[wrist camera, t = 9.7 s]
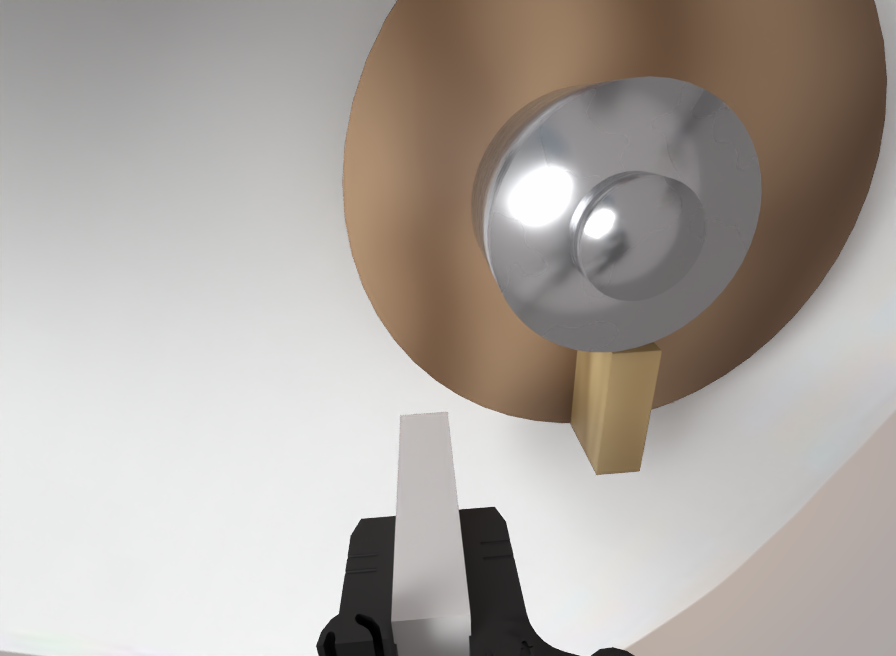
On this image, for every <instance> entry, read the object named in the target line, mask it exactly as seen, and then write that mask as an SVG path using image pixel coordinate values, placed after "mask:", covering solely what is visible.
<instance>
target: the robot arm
mask: <svg viewBox="0 0 896 656" xmlns="http://www.w3.org/2000/svg"><path fill="white" fill-rule="evenodd" d="M316 647H317V651H318V655H319V656H579V655H575V654H571V653H567V652H564V651H561V650H559V649H556V648H553V647H552V646H550V645H549V644H547V643H546V642H544V641H543V640H542V639H541V638H540V637H539V636H538V635H537V634H536V632H535V631H534V629H533V628H532V626H531V624H530V622H529V619H528V616H527V613H526V609H525V604H524V600H523V595H522V591H521V586H520V582H519V578H518V573H517V569H516V564H515V560H514V557H513V551H512V547H511V543H510V538H509V533H508V529H507V525H506V521H505V520H504V519H503V517H502V516H501V515H500V513H499V512H498V511H497V509H496V508H495V507H486V508H474V509H461V510H459V509H458V500H457V491H456V482H455V473H454V465H453V456H452V447H451V438H450V429H449V421H448V412H441V413H427V414H413V415H400V437H399V459H398V481H397V503H396V516H390V517H378V518H365V519H361V520H360V522H359V523H358V525H357V526H356V528H355V530H354V531H353V533H352V535H351V537H350V544H349V551H348V559H347V564H346V574H345V577H344V584H343V591H342V597H341V604H340V611H339V614H338V615H337V616H335V617H334V618H333V619H331V620H330V621H329V623H328V624H327V625H326V626H325V628H324V629H323V630H322V632H321V634H320V637H319V640H318V642H317V645H316ZM591 656H634V655H632V654H631V653H629V652H628V651H625V650H621V649H617V648H613V647H612V648H605V649H600V650H598V651H597V652H595V653H594V654H593V655H591Z"/></svg>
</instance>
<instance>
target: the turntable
mask: <svg viewBox="0 0 896 656" xmlns="http://www.w3.org/2000/svg"><path fill="white" fill-rule="evenodd" d="M649 76H651V77H665V78H672V79H677V80H681V81H685V82H689V83H691V84H694V85H696V86H698V87H701V88H703V89H705V90H707V91H708V92H710V93H712V94H713V95H715V96H716V97H718V98H719V99H721V100H722V101H723V102H724V103H725V104H726V105H727V106H728V107H729V108H730V109H731V110H733V111H734V113H735V114H736V115H737V117H738V118H739V119H740V121H741V122H742V123H743V125H744V126H745V128H746V130H747V132H748V134H749V136H750V138H751V139H752V142H753V145H754V148H755V151H756V153H757V156H758V161H759V167H760V172H761V188H762V194H761V205H760V213H759V218H758V222H757V227H756V230H755V233H754V236H753V239H752V242H751V245H750V247H749V249H748V251H747V254H746V256H745V258H744V260H743V262H742V264H741V265H740V267H739V269H738V270H737V272H736V274H735V275H734V277H733V278H732V280H731V281H730V282H729V284H728V285H727V286H726V288H725V289H724V290H723V292H722V293H721V294H720V295H719V296H718V297H717V298H716V299H715V300H714V301H713V302H712V303H711V305H709V306H708V307H707V308H706V309H705V310H704V311H703V312H702V313H700V314H699V315H698V316H697V317H696V318H694V319H693V320H692V321H690V322H689V323H687V324H686V325H685V326H683V327H682V328H680V329H678V330H676V331H675V332H673V333H671V334H670V335H668V336H666V337H663V338H661V339H659V340H657V341H655V342H652V343H649V344H646V345H643V346H640V347H637V348H632V349H628V350H623V351H614V352H587V351H579V350H574V349H571V348H567V347H563V346H560V345H558V344H556V343H553V342H551V341H548V340H547V339H545V338H543V337H542V336H540V335H538V334H537V333H535V332H534V331H533V330H531V329H530V328H529V327H528V326H527V325H525V324H524V323H523V322H522V321H521V320H520V319H519V317H518V316H517V315H516V314H515V313H514V312H513V310H512V309H511V307H510V306H509V305H508V303H507V302H506V300H505V298H504V296H503V294H502V292H501V290H500V288H499V286H498V284H497V282H496V280H495V278H494V276H493V274H492V272H491V270H490V268H489V266H488V264H487V262H486V260H485V258H484V256H483V254H482V252H481V250H480V248H479V246H478V243H477V240H476V237H475V234H474V229H473V224H472V216H471V199H472V189H473V184H474V179H475V175H476V172H477V169H478V166H479V163H480V161H481V159H482V157H483V155H484V153H485V151H486V149H487V147H488V145H489V144H490V142H491V141H492V139H493V138H494V136H495V135H496V133H497V132H498V131H499V130H500V129H501V127H502V126H503V125H504V124H505V123H506V122H507V121H508V120H509V119H510V118H511V117H512V116H513V115H514V114H515V113H516V112H517V111H519V110H520V109H522V108H523V107H524V106H526V105H527V104H528V103H530V102H532V101H533V100H535V99H537V98H539V97H541V96H543V95H545V94H547V93H550V92H553V91H555V90H558V89H562V88H566V87H570V86H576V85H583V84H591V83H598V82H605V81H613V80H620V79H627V78H637V77H649ZM886 87H887V76H886V64H885V52H884V40H883V36H882V32H881V27H880V23H879V18H878V14H877V10H876V5H875V2H874V0H397V2H396V4H395V5H394V7H393V8H392V10H391V11H390V13H389V14H388V16H387V18H386V19H385V21H384V24H383V26H382V28H381V30H380V32H379V34H378V36H377V38H376V41H375V43H374V45H373V47H372V49H371V51H370V53H369V55H368V57H367V60H366V62H365V66H364V69H363V72H362V75H361V78H360V81H359V84H358V87H357V90H356V93H355V96H354V99H353V103H352V108H351V113H350V119H349V124H348V129H347V135H346V140H345V150H344V166H343V197H344V212H345V222H346V227H347V232H348V237H349V242H350V247H351V252H352V256H353V259H354V262H355V265H356V268H357V271H358V273H359V276H360V279H361V282H362V285H363V288H364V290H365V292H366V294H367V296H368V298H369V300H370V302H371V304H372V306H373V308H374V309H375V311H376V313H377V315H378V317H379V318H380V320H381V321H382V323H383V324H384V326H385V327H386V329H387V330H388V331H389V333H390V334H391V336H392V337H393V339H394V340H395V341H396V342H397V344H398V345H399V346H400V347H401V348H402V349H403V350H404V351H405V352H406V354H407V355H408V356H409V357H410V358H411V359H412V360H413V361H414V362H415V363H416V364H417V365H418V366H419V367H421V368H422V369H423V370H424V371H425V372H427V373H428V374H429V375H430V376H431V377H432V378H434V379H435V380H436V381H438V382H439V383H441V384H442V385H444V386H445V387H447V388H448V389H450V390H452V391H453V392H455V393H456V394H458V395H460V396H462V397H464V398H466V399H468V400H470V401H472V402H474V403H476V404H478V405H480V406H483V407H485V408H488V409H491V410H494V411H497V412H500V413H503V414H506V415H510V416H515V417H519V418H524V419H529V420H534V421H545V422H556V423H570V424H571V426H572V428H573V430H574V432H575V434H576V436H577V438H578V440H579V442H580V444H581V446H582V448H583V449H584V451H585V453H586V455H587V457H588V459H589V461H590V463H591V465H592V467H593V469H594V471H595V473H596V475H602V474H613V473H625V472H637V471H640V466H641V461H642V455H643V450H644V445H645V439H646V434H647V429H648V423H649V418H650V412H651V410H652V409H655V408H658V407H660V406H663V405H666V404H669V403H672V402H674V401H676V400H678V399H681V398H683V397H685V396H687V395H689V394H691V393H694V392H696V391H698V390H700V389H702V388H703V387H705V386H707V385H708V384H710V383H712V382H714V381H715V380H717V379H719V378H721V377H722V376H724V375H726V374H727V373H728V372H730V371H731V370H733V369H734V368H735V367H737V366H738V365H740V364H741V363H742V362H744V361H745V360H747V359H748V358H750V357H751V356H752V355H753V354H754V353H755V352H757V351H758V350H759V349H760V348H761V347H762V346H764V345H765V344H766V343H767V342H768V341H769V340H771V339H772V338H773V337H774V336H775V335H776V334H777V333H778V332H779V331H780V330H781V329H782V328H783V327H784V326H785V325H786V324H787V323H788V322H789V321H790V320H791V319H792V318H793V317H794V316H795V315H796V313H797V312H798V311H799V310H800V309H801V307H802V306H803V305H804V304H805V302H806V301H807V300H808V299H809V298H810V296H811V295H812V294H813V293H814V291H815V290H816V289H817V288H818V286H819V285H820V283H821V282H822V280H823V279H824V277H825V276H826V274H827V273H828V271H829V270H830V268H831V267H832V265H833V264H834V262H835V261H836V259H837V258H838V256H839V254H840V252H841V250H842V248H843V246H844V245H845V243H846V241H847V239H848V237H849V235H850V233H851V231H852V229H853V228H854V226H855V223H856V221H857V218H858V216H859V213H860V211H861V208H862V206H863V204H864V201H865V199H866V196H867V194H868V191H869V188H870V184H871V181H872V177H873V174H874V170H875V167H876V163H877V160H878V156H879V151H880V145H881V139H882V133H883V127H884V121H885V108H886Z"/></svg>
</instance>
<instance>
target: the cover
mask: <svg viewBox="0 0 896 656" xmlns="http://www.w3.org/2000/svg"><path fill="white" fill-rule="evenodd" d="M761 194H762V188H761V172H760V167H759V161H758V156H757V153H756V151H755V148H754V145H753V142H752V139H751V138H750V136H749V134H748V132H747V130H746V128H745V126H744V125H743V123H742V122H741V121H740V119H739V118H738V117H737V115H736V114H735V113H734V111H733V110H731V109H730V108H729V107H728V106H727V105H726V104H725V103H724V102H723V101H722V100H721V99H719V98H718V97H716V96H715V95H713V94H712V93H710V92H708V91H707V90H705V89H703V88H701V87H698V86H696V85H694V84H691V83H689V82H685V81H681V80H677V79H672V78H665V77H651V76H649V77H637V78H627V79H620V80H613V81H605V82H598V83H591V84H583V85H576V86H570V87H566V88H562V89H558V90H555V91H553V92H550V93H547V94H545V95H543V96H541V97H539V98H537V99H535V100H533V101H532V102H530V103H528V104H527V105H526V106H524V107H523V108H522V109H520V110H519V111H517V112H516V113H515V114H514V115H513V116H512V117H511V118H510V119H509V120H508V121H507V122H506V123H505V124H504V125H503V126H502V127H501V129H500V130H499V131H498V132H497V133H496V135H495V136H494V138H493V139H492V141H491V142H490V144H489V145H488V147H487V149H486V151H485V153H484V155H483V157H482V159H481V161H480V163H479V166H478V169H477V172H476V175H475V179H474V184H473V189H472V199H471V216H472V224H473V229H474V234H475V237H476V240H477V243H478V246H479V248H480V250H481V252H482V254H483V256H484V258H485V260H486V262H487V264H488V266H489V268H490V270H491V272H492V274H493V276H494V278H495V280H496V282H497V284H498V286H499V288H500V290H501V292H502V294H503V296H504V298H505V300H506V302H507V303H508V305H509V306H510V307H511V309H512V310H513V312H514V313H515V314H516V315H517V316H518V317H519V319H520V320H521V321H522V322H523V323H524V324H525V325H527V326H528V327H529V328H530V329H531V330H533V331H534V332H535V333H537V334H538V335H540V336H542V337H543V338H545V339H547V340H548V341H551V342H553V343H556V344H558V345H560V346H563V347H567V348H571V349H574V350H579V351H587V352H614V351H623V350H628V349H632V348H637V347H640V346H643V345H646V344H649V343H652V342H655V341H657V340H659V339H661V338H663V337H666V336H668V335H670V334H671V333H673V332H675V331H676V330H678V329H680V328H682V327H683V326H685V325H686V324H687V323H689V322H690V321H692V320H693V319H694V318H696V317H697V316H698V315H699V314H700V313H702V312H703V311H704V310H705V309H706V308H707V307H708V306H709V305H711V303H712V302H713V301H714V300H715V299H716V298H717V297H718V296H719V295H720V294H721V293H722V292H723V290H724V289H725V288H726V286H727V285H728V284H729V282H730V281H731V280H732V278H733V277H734V275H735V274H736V272H737V270H738V269H739V267H740V265H741V264H742V262H743V260H744V258H745V256H746V254H747V251H748V249H749V247H750V245H751V242H752V239H753V236H754V233H755V230H756V227H757V222H758V218H759V213H760V205H761Z"/></svg>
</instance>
